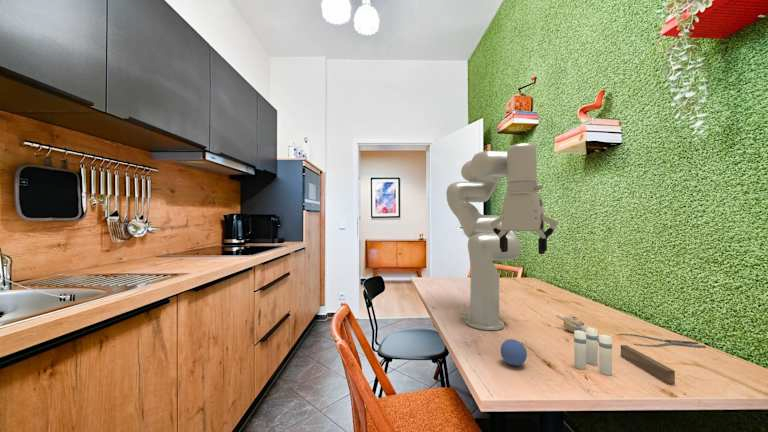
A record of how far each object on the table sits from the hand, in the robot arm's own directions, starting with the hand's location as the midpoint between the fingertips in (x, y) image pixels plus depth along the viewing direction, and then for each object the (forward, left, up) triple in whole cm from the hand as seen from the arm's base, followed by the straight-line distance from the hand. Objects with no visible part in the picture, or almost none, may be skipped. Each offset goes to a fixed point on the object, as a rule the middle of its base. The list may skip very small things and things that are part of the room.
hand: (522, 252), depth 81 cm
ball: (0, -8, -24) cm, 25 cm away
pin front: (+13, +1, -27) cm, 30 cm away
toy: (+10, +28, -27) cm, 40 cm away
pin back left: (+15, +5, -27) cm, 31 cm away
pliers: (+30, +37, -28) cm, 55 cm away
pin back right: (+18, +1, -27) cm, 32 cm away
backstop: (+25, +10, -27) cm, 38 cm away
